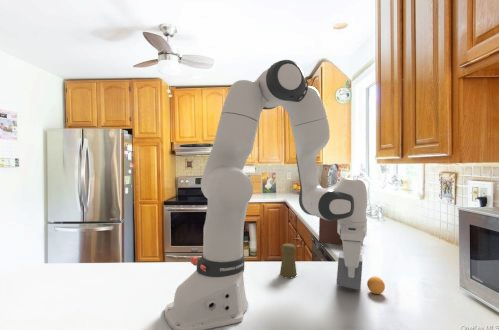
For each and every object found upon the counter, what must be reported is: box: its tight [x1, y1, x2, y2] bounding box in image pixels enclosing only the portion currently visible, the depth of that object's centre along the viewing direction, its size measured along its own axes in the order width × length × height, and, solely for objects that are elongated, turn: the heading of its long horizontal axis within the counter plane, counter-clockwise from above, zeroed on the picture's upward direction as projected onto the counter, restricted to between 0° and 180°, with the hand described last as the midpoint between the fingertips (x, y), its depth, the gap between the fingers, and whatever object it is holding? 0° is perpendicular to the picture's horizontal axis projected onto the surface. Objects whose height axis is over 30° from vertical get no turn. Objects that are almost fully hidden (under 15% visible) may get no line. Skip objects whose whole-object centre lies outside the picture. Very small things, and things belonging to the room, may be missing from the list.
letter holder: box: [318, 218, 364, 247], centre depth 139 cm, size 10×20×14 cm, turn 58°
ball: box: [366, 276, 386, 295], centre depth 84 cm, size 5×5×5 cm
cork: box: [279, 243, 298, 279], centre depth 98 cm, size 6×6×11 cm
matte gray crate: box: [336, 250, 364, 291], centre depth 87 cm, size 7×7×9 cm
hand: (351, 271), depth 87 cm, fingers closed on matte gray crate, 7 cm apart
